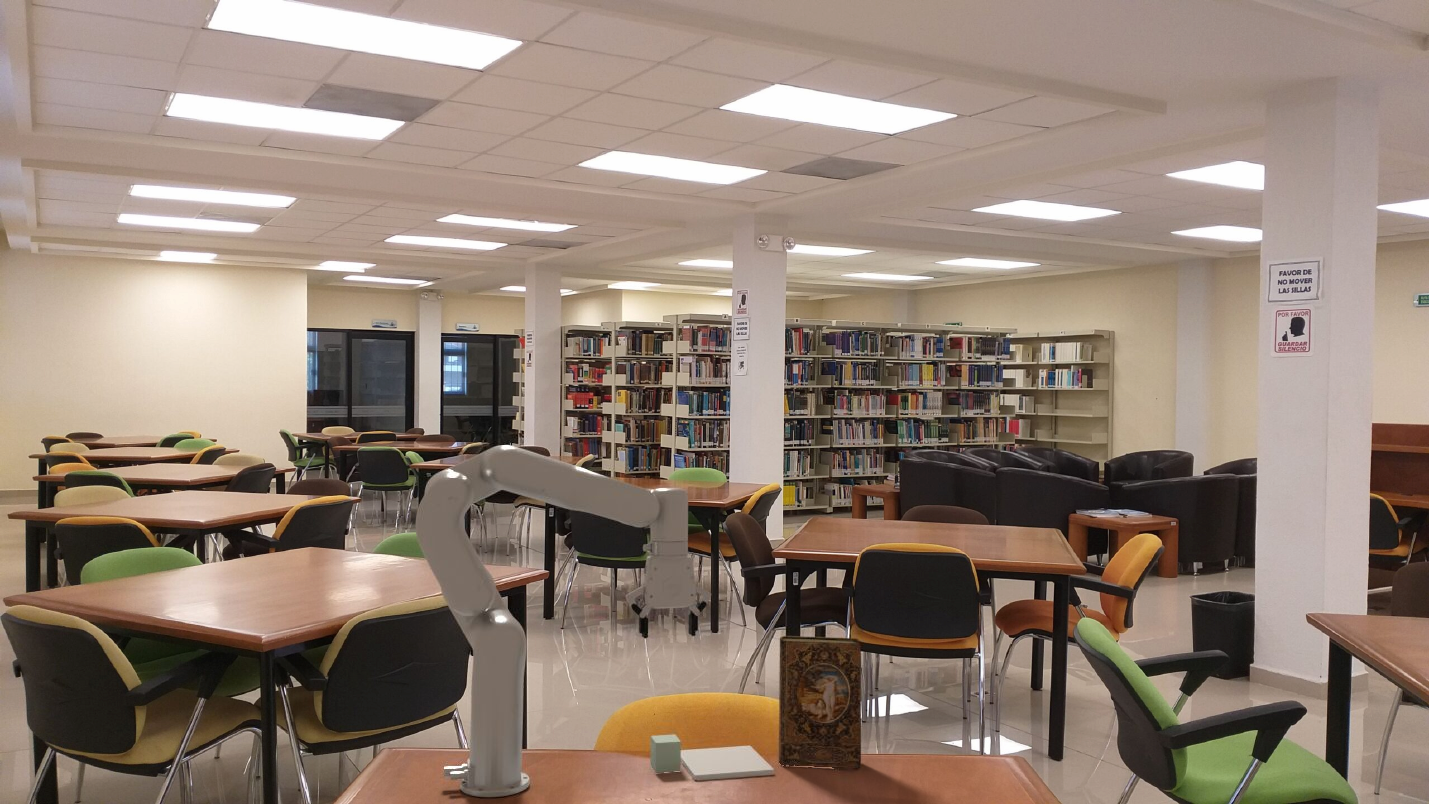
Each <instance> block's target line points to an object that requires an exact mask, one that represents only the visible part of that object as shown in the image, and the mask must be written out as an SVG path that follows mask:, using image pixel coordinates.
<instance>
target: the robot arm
mask: <svg viewBox="0 0 1429 804" xmlns="http://www.w3.org/2000/svg"><path fill="white" fill-rule="evenodd" d="M502 490H503V491H505V492H509V493H512V494H516V495H519V496H522V497H526V498H530V499H533V500H535V501H536V500H537V501H540V502H542V503H546V504H550V505H553V506H555V507H559V508H563V509H566V510H570V511H576V512H577V511H578V512H584V513H589V514H592V515H596V516H600V517H602V518H606V519H609V520H613V521H617V522H620V523H621V524H624V525H627V526H632V527H635V528H645V527H648V526H650V540H649V542H648V543H647V544H646V543H645V544H643V546H642V550H643V552H647V553H648V554H649V556H647V557H646V561H645V566H644V574H643V584H642V585H641V586H639V587H638V588H635V590H632V591H631V592H629V593H627V594H626V595H625V599H626V601H627V603H628V605H629V607H630V609H631V610H632V611H633V612H635V614H636V615H637V616H638V634H641V637H642V638H643V639H648V637H649V618H648V617H647V615H648V614H649V612H650V611H651V610H652V609H654V610H657V609H681V608H683V609H684V608H687V609H688V610H689V614H688V634H689V635H690V636H691V637H696V634H697V633H696V632H698V630H699V616H700V614H701V613H702V611H703V610H704V609H705V608H707V605H708V603H709V601H710V599H711V597H712V593H711V592H710V591H708V590H706V589H704V588H702V587H700V586H698V585H697V584H696V577H695V567H694V562H693V557H692V556H691V555H688V554H689V553H688V552H689V549H688V548H689V544H688V543H689V539H688V538H689V534H688V533H689V496H688V492H687V490H686V489H683V488H681V487H660V488H654V489H652V488H644V487H642V486H638V485H634V484H631V483H628V482H625V481H622V480H619V479H615V478H612V477H609V476H606V475H603V474H600V473H598V472H593V471H592V470H588V469H586V468H585V467H582V466H581V467H580V466H578V465H575V464H571V463H569V462H565V461H562V460H558V459H555V458H552V457H550V456H546V455H543V454H540V453H537V452H534V451H531V450H528V449H524V448H521V447H517V446H515V445H510V444H504V445H502V444H501V445H496V446H493V447H490V448H488V449H487V450H484V451H482V452H480V453H479V454H476V455H474V456H472V457H471V458H468V459H465V460H463V461H460V462H459V463H457V464H455V465H452V466H450V467H448V468H445V469H443V470H441V471H438V472H437V473H435V474H434V475H432V476H431V477H430V479H428V481H427V483H426V485H425V489H424V495H423V497H422V499H421V500H420V503H419V505H418V508H417V511H416V516H415V517H416V518H415V533H416V534H415V535H416V539H417V543H418V545H419V547H420V551H421V552H422V554H423V556H424V558H425V560H426V562H427V563H428V565H429V567H430V570H431V572H432V573H433V576H434V577H435V579H436V581H437V583H438V584H439V586H440V591H441V595H442V598H443V599H444V601H445V603H446V605H447V606H448V608H449V610H450V612H451V614H452V615H453V616H454V619H455V620H456V622H457V624H458V625H459V627H460V630H461V631H462V633H463V635H464V636H465V638H466V639H467V641H468V643H469V644H470V646H471V649H472V654H473V657H472V673H471V689H470V690H471V691H470V729H469V730H470V732H469V733H470V734H469V736H470V737H469V758H467V763H462V764H461V765H459V766H454V765H449V766H448V765H447V766H444V768H443V769H444V770H443V777H444V778H450V781H455V780H457V781H458V780H460V784H459V786H460V787H459V788H460V790H461V792H463V793H464V794H465V795H469V796H473V797H479V798H498V797H499V798H500V797H507V796H510V795H514V794H515V795H516V794H519V793H521V792H523V791H524V790H526V789H527V788H528V787H529V786H530V781H531V780H530V779H531V778H530V776H529V775H528V774H527V773H525V772H522V765H523V764H522V763H523V761H522V759H523V725H524V724H523V720H524V719H523V717H524V685H525V684H524V683H525V681H524V678H525V668H526V661H527V659H526V658H527V651H528V650H527V647H528V646H527V638H526V633H525V630H524V628H523V627H522V625H521V623H520V622H519V621H518V620H517V619H516V618H515V617H514V616H513V614H512V613H511V612H510V610H509V609H508V607H507V605H506V603H505V601H504V600H503V598H502V595H501V593H500V592H499V590H498V589H497V587H496V582H495V580H494V577H493V576H492V574H491V572H490V571H489V570H488V569H487V568H486V566H485V564H484V562H483V561H482V560H481V558H480V556H479V555H478V552H477V551H476V549H475V548H474V545H473V543H472V541H471V539H470V537H469V536H468V533H467V532H466V528H465V515H466V513H467V511H468V510H469V509H470V508H471V506H472V505H473V504H475V503H477V502H479V501H481V500H483V499H486V498H488V497H490V496H492V495H494V494H497V492H500V491H502ZM697 594H699V595H701V598H700V600H699V602H697V601H696V599H697V596H696V595H697ZM641 595H642V602H643V604H642V605H641V607H640V606H639V605H638V604H637V602H636V598H638V597H639V596H641ZM696 602H697V604H696ZM695 604H696V605H695Z"/></svg>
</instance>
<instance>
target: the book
mask: <svg viewBox="0 0 1429 804" xmlns="http://www.w3.org/2000/svg"><path fill="white" fill-rule="evenodd" d="M861 648H862V647H861V645H860V640H859V638H857V637H832V636H830V637H828V636H800V635H799V636H798V635H794V636H793V635H785V636H780V637H779V673H778V674H779V676H778V677H779V679H778V680H779V681H778V682H779V685H778V687H779V688H778V689H779V690H778V692H779V693H778V697H779V698H778V703H779V704H778V705H779V706H778V707H779V708H778V764H779V763H780V764H781V765H784V766H786V765H789V766H794V765H795V766H814V767H832V768H834V769H833V770H839V769H847V771H849V770H850V771H851V770H854V771H855V770H859V769H860V767H861V762H862V657H861V656H862V649H861Z"/></svg>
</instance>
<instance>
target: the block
mask: <svg viewBox="0 0 1429 804" xmlns="http://www.w3.org/2000/svg"><path fill="white" fill-rule="evenodd" d="M681 744H682V741H681V740H680V739H679V737H678V736H677V734H675V733H673V734H661V735H660V734H659V735H657V734H656V735H650V756H649V757H650V758H649V759H650V760H649V761H650V764H651V766H652V768H653V770H654V771H655V773H664V772H674V771H680V772H681V764H682V763H681V750H682V745H681ZM650 764H649V765H650ZM652 768H651V769H652ZM653 770H652V771H653ZM654 771H653V772H654ZM655 773H654V774H655Z"/></svg>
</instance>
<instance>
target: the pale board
mask: <svg viewBox="0 0 1429 804" xmlns="http://www.w3.org/2000/svg"><path fill="white" fill-rule="evenodd" d="M681 761H682V762H683V764H684V765H685V767H686V768H685V767H684V768H685V770H686V769H687V770H688V771H687V770H686V771H687V773H688V772H689V773H690V774H689V773H688V774H689V775H690V777H691V776H692V777H691V778H692V779H693V780H697V781H707V780H709V781H710V780H721V779H734V778H735V779H736V778H746V777H747V778H748V777H749V778H750V777H757V776H758V777H760V776H774V775H775V769H774V768H773V767H772V766H771V765H770V764H769V763H768V762H767V761H766V760H765V758H763V757H762V756H761V755H760V754H759V753H758V752H757V751H756V750H755V749H754V748H753V747H752V746H751V745H740V746H739V745H738V746H727V747H726V746H725V747H710V748H708V747H707V748H696V749H681ZM683 764H682V765H683Z"/></svg>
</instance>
